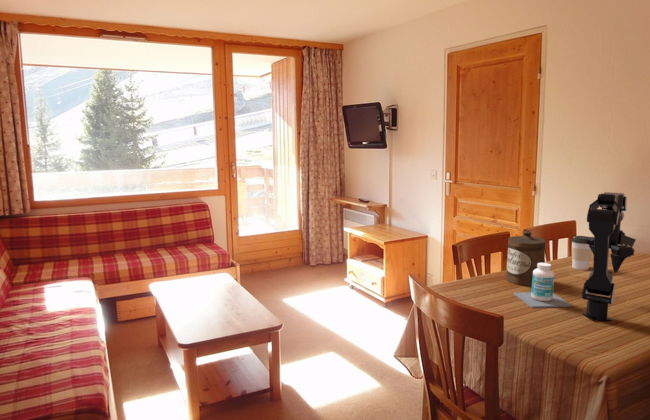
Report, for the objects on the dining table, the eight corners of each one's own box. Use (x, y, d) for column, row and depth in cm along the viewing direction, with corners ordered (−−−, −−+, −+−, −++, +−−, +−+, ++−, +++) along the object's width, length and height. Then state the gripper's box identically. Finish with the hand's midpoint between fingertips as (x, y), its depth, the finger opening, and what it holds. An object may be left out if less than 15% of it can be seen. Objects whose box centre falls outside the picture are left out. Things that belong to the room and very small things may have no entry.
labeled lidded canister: (498, 277, 207) (501, 228, 204) (525, 274, 212) (528, 226, 209) (523, 287, 194) (526, 235, 190) (551, 283, 199) (555, 232, 195)
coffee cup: (565, 266, 224) (567, 235, 221) (578, 264, 227) (580, 233, 225) (582, 271, 216) (585, 239, 213) (595, 268, 219) (598, 237, 217)
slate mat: (571, 306, 172) (572, 305, 172) (531, 307, 171) (531, 306, 171) (550, 293, 187) (550, 291, 187) (513, 294, 186) (513, 292, 186)
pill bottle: (530, 300, 177) (532, 265, 175) (531, 294, 184) (533, 260, 182) (552, 303, 174) (555, 267, 172) (552, 297, 181) (555, 262, 178)
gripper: (651, 231, 163) (646, 275, 165) (615, 221, 181) (611, 261, 184) (620, 232, 162) (616, 276, 165) (587, 222, 181) (584, 262, 183)
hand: (607, 268), depth 174 cm, fingers open, 9 cm apart
